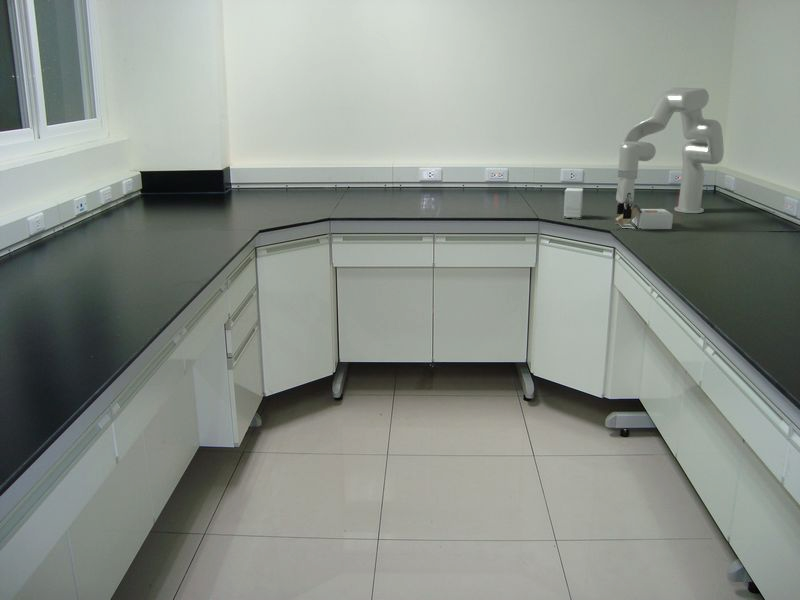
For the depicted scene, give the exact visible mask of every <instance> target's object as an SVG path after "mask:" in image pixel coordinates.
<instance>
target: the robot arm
mask: <svg viewBox="0 0 800 600" xmlns="http://www.w3.org/2000/svg"><path fill="white" fill-rule="evenodd" d="M709 98H710V95H709V92H708V91H707V90H706V88H702V87H701V88H700V87H672V88H670V89H669V90H666V91H663V92H662V93H660V94H659V96H658V98H657V99H656V101H655V103H654V104H653V106H652V108H651V110H650V111H649V113H648V115H647V117H646V118H645V119H644V120H642V121H640V122H639V123H637V124H635V126H633V127H631V129H630V130H629V131H627V132H626V135H625V137H624V138H623V140H622V141H621V144H620V146H619V156H618V157H619V159H618V161H619V162H618V171H617V179H618V182H617V187H616V195H615V199H616V201H617V209H616V214H617V215H622V214H623V219H631V214H632V207H633V203H634V199H635V181H636V180H637V179H638V173H639V162H648V161H651V160H653V158H654V157H655V155H656V153H657V151H656V147H655V145H654V144H652V143H651V142H646V141H640V140H641V139H644V138H645V137H647V136H649V135H650V136H651V135H653V134H657V133H659V132H661V131H664V130H665V129H666V127H667V125H668V124H669V122H670V119H671V118H672V117H673V114H675V113H680V118H681V126H682V132H683V137H684V138H685V140H687V141H686V143H685V144H684V145H683V146H682V150H681V157H682V170H681V178H680V179H681V180H680V188H679V197H678V204H677V205H678V206H675V207H674V208H673V210H674V211H675V212H678V213H685V214H701V213H703V212H705V211H704V208H702V207H701V205H702V197H703V189H704V188H703V187H704V182H705V169H704V167H703V164H707V165H718V164H719V163H721V161H723V158H724V154H725V152H724V150H725V148H724V139H723V137H724V136H723V128H722V125H721V123H720V122H719V121H718V120H717V119H707V118H704V116H703V110H702V109H705V107H706V106H707V105H708V103H709V100H710V99H709Z"/></svg>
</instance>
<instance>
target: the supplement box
mask: <svg viewBox="0 0 800 600" xmlns="http://www.w3.org/2000/svg"><path fill="white" fill-rule="evenodd" d="M583 196H584V188H581V187H567V188H566V189H565V190H564V205H563V217H564V216H566V217H581V218H582V216H581V215H583V198H584V197H583Z"/></svg>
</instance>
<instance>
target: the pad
mask: <svg viewBox="0 0 800 600" xmlns="http://www.w3.org/2000/svg"><path fill="white" fill-rule="evenodd" d="M622 228H632V229H631V230H636V226H634V225H632V223H626V224H625V225H623V227H622Z"/></svg>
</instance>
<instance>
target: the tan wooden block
mask: <svg viewBox="0 0 800 600" xmlns="http://www.w3.org/2000/svg"><path fill="white" fill-rule="evenodd" d="M641 209H642V208H640V207H639V205H637V204H634V205H632V214H631V219H623V214H620V215H619V216H617V217H616V218H615V221H616V222H617V224H619V225H620V226H621V227H622V226H623V225H625V224H629V222H631V221H632V219H633V218H635V217H636V216H637V215H639V214H641V213H642V211H641Z"/></svg>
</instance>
